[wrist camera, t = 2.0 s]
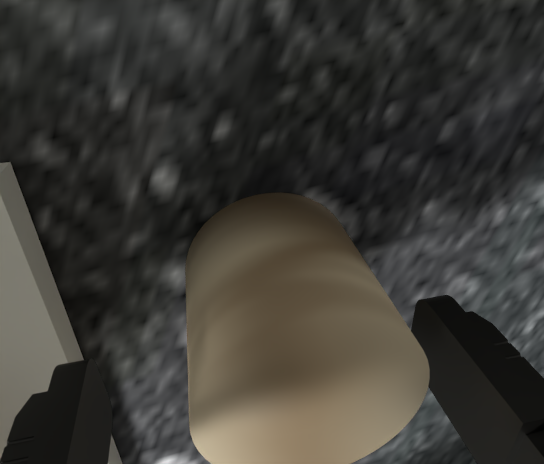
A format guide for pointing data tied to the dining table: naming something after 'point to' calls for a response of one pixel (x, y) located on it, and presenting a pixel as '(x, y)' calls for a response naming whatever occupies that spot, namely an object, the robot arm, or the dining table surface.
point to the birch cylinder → (292, 340)
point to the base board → (28, 312)
